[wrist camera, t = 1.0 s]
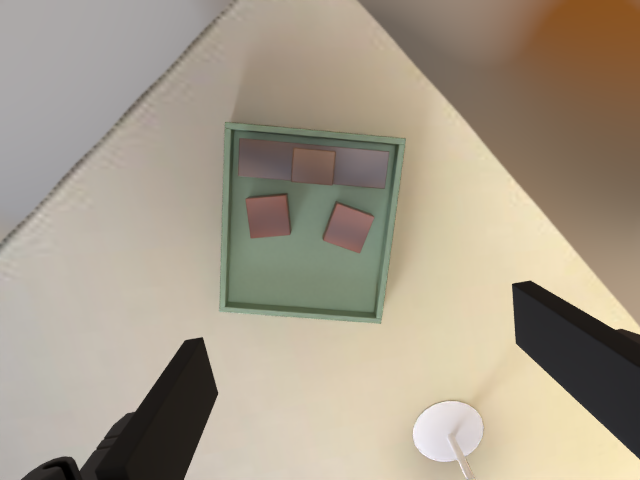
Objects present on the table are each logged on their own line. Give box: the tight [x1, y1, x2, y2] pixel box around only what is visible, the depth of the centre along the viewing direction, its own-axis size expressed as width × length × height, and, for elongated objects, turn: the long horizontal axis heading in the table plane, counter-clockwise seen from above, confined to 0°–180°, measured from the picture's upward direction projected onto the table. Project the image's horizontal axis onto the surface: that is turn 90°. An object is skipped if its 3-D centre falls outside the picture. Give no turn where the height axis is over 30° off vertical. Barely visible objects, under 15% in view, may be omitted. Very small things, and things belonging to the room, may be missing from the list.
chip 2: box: [323, 201, 374, 253], centre depth 38 cm, size 4×4×2 cm
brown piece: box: [238, 138, 389, 189], centre depth 32 cm, size 4×14×12 cm, turn 85°
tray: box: [219, 122, 406, 324], centre depth 38 cm, size 19×17×2 cm
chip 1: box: [245, 193, 292, 239], centre depth 37 cm, size 4×4×2 cm
